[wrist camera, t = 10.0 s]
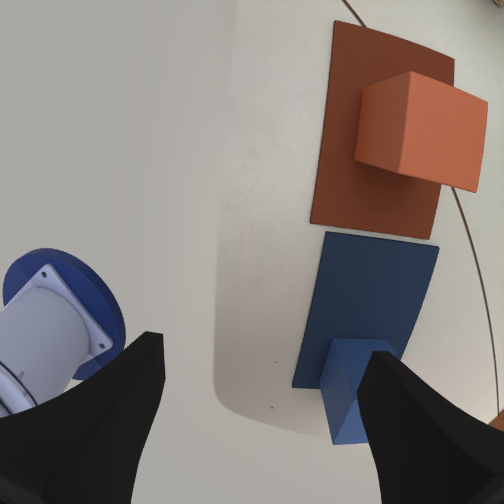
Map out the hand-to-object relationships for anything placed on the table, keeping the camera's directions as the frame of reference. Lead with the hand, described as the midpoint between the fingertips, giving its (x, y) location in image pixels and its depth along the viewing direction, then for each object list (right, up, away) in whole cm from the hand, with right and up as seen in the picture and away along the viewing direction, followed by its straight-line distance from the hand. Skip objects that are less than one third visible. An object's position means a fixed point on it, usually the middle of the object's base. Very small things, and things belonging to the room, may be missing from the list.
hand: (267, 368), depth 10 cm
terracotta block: (+7, +11, +6) cm, 14 cm away
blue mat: (+7, -1, +10) cm, 12 cm away
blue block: (+7, -4, +11) cm, 14 cm away
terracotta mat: (+7, +11, +6) cm, 14 cm away
